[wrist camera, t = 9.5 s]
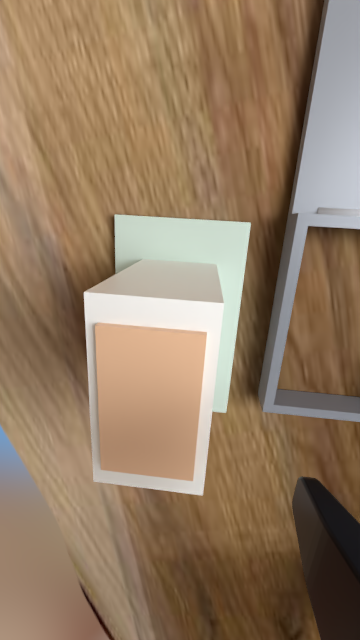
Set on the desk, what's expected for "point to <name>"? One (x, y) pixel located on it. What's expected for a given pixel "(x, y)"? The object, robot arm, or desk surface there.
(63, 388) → the desk surface
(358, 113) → the grey holder tray
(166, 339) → the module
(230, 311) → the sage mat
